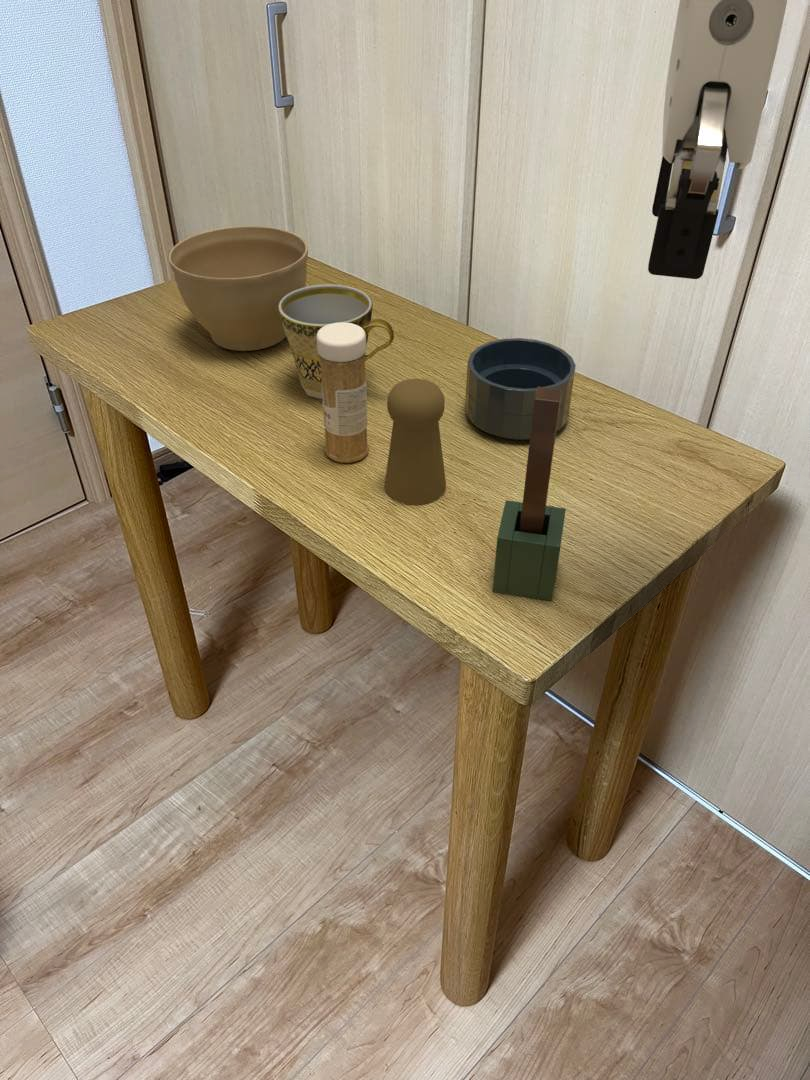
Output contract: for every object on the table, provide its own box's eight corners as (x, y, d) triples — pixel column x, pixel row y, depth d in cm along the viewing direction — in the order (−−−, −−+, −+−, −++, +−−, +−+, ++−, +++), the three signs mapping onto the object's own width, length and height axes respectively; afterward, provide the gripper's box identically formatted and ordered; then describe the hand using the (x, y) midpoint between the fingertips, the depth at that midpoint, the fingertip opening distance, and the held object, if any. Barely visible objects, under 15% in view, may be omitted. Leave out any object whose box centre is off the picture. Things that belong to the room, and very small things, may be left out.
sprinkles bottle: (321, 443, 88) (312, 323, 79) (364, 436, 89) (360, 317, 80) (329, 468, 85) (320, 346, 76) (374, 461, 85) (370, 340, 77)
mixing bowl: (571, 396, 95) (579, 344, 91) (562, 451, 87) (570, 396, 83) (474, 385, 97) (477, 333, 93) (457, 438, 89) (459, 383, 84)
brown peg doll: (374, 476, 84) (371, 378, 76) (429, 461, 85) (431, 364, 78) (399, 511, 79) (399, 411, 72) (457, 494, 81) (462, 395, 74)
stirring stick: (537, 571, 73) (562, 389, 61) (534, 585, 72) (559, 401, 60) (516, 568, 73) (537, 386, 62) (513, 582, 72) (534, 398, 60)
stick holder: (557, 561, 74) (565, 508, 70) (551, 601, 70) (560, 547, 66) (500, 553, 75) (505, 499, 71) (492, 591, 71) (497, 537, 67)
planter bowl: (324, 309, 112) (318, 226, 105) (300, 370, 100) (291, 281, 92) (205, 303, 113) (192, 221, 106) (167, 362, 101) (148, 275, 94)
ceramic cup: (270, 396, 95) (260, 313, 88) (314, 357, 102) (308, 277, 95) (374, 423, 91) (371, 338, 84) (412, 380, 98) (413, 298, 91)
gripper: (849, -62, 36) (742, 309, 48) (806, -97, 49) (729, 203, 60) (670, -69, 38) (606, 294, 49) (672, -101, 50) (622, 193, 62)
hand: (674, 244), depth 55 cm, fingers open, 9 cm apart
